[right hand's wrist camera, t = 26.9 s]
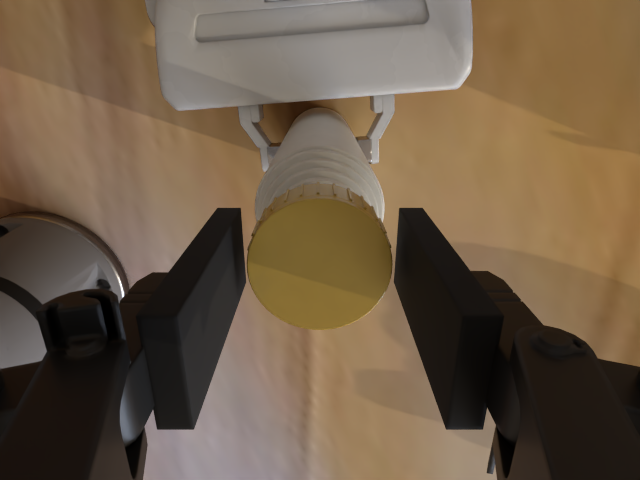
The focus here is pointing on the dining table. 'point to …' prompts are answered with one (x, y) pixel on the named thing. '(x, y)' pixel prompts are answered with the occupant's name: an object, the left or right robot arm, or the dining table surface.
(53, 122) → the dining table surface
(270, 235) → the cap
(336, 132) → the bottle
